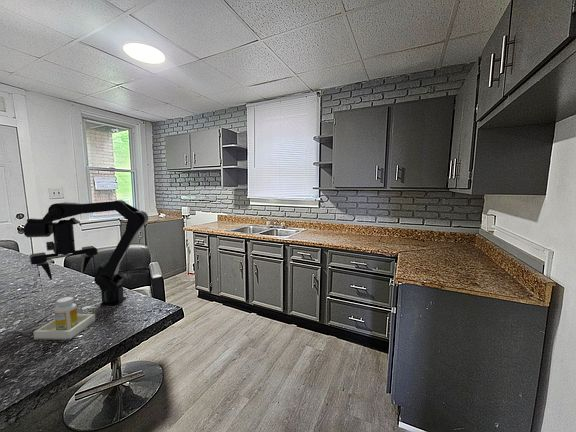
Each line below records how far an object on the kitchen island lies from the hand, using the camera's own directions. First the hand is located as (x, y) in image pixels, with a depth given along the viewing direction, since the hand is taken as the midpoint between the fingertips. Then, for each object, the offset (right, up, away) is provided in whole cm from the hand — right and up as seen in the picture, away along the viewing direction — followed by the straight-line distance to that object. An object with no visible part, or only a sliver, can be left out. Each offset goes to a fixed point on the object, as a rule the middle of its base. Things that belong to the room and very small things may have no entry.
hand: (67, 276), depth 96 cm
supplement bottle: (+12, -14, -14) cm, 23 cm away
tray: (+12, -14, -14) cm, 23 cm away
